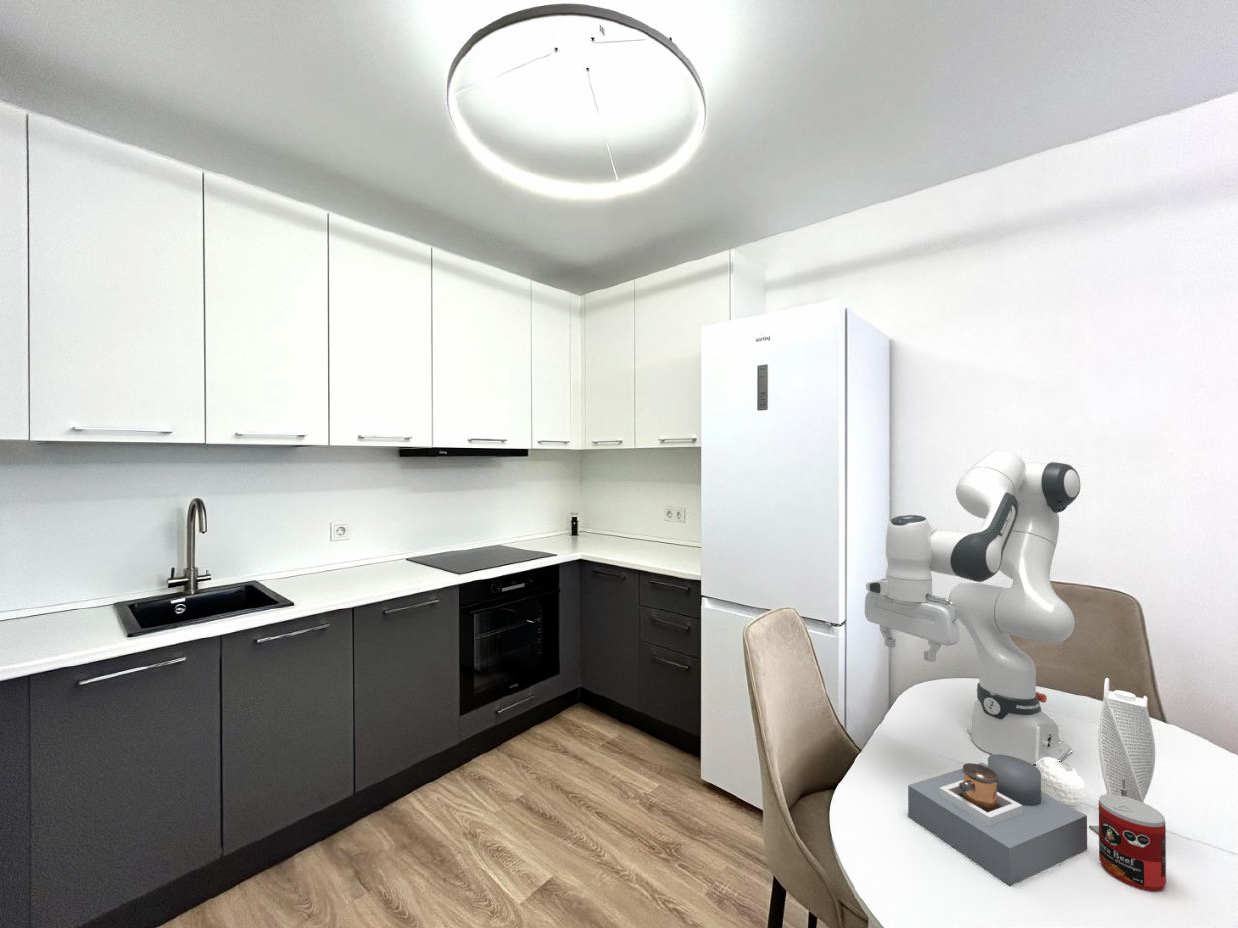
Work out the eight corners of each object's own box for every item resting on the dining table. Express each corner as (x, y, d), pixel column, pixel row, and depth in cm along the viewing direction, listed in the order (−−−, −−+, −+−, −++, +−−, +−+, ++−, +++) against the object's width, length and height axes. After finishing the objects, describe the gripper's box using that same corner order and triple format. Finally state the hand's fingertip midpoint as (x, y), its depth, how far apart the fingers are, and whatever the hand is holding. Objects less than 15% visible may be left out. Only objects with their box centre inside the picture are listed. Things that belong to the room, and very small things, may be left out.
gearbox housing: (981, 791, 107) (981, 738, 107) (1087, 849, 90) (1086, 786, 91) (908, 816, 99) (908, 758, 99) (1009, 885, 82) (1009, 816, 82)
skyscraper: (1082, 822, 98) (1081, 675, 98) (1125, 823, 97) (1124, 676, 98) (1124, 854, 89) (1122, 693, 90) (1172, 856, 89) (1170, 695, 90)
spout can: (974, 808, 96) (974, 760, 97) (1003, 826, 92) (1004, 776, 92) (948, 818, 94) (948, 769, 94) (977, 837, 89) (978, 785, 89)
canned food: (1086, 858, 88) (1086, 793, 89) (1128, 856, 89) (1127, 792, 89) (1134, 894, 81) (1134, 823, 81) (1180, 891, 81) (1179, 821, 82)
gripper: (966, 599, 103) (967, 667, 103) (878, 579, 122) (879, 637, 122) (946, 602, 101) (946, 672, 101) (859, 582, 119) (860, 641, 119)
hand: (909, 653), depth 111 cm, fingers open, 8 cm apart
